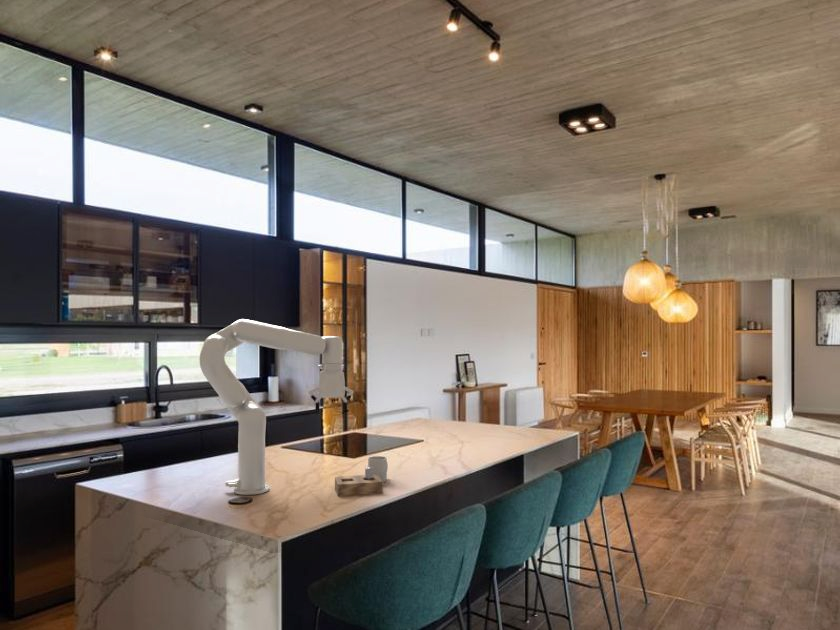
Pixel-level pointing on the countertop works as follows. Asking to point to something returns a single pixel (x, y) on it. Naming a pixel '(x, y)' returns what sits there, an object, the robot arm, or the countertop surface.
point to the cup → (379, 466)
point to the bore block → (358, 485)
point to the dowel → (369, 473)
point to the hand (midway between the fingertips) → (330, 412)
